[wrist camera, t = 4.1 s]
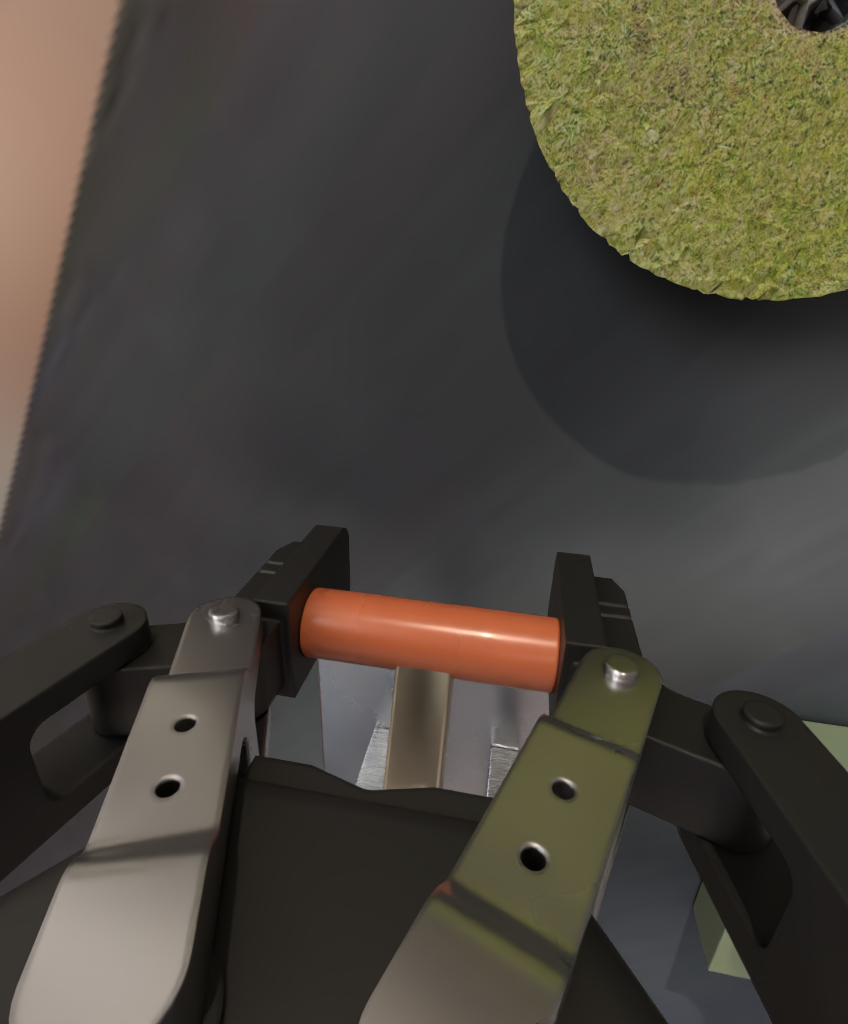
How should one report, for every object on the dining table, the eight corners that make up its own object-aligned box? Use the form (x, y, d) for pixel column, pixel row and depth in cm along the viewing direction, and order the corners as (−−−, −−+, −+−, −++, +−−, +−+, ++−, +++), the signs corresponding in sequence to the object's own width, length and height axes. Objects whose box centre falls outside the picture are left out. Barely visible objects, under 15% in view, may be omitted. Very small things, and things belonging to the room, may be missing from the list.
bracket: (329, 616, 19) (29, 1124, 8) (594, 652, 18) (699, 1331, 7) (339, 829, 24) (156, 1352, 12) (551, 871, 23) (569, 1503, 11)
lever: (333, 581, 13) (293, 593, 10) (554, 609, 12) (566, 629, 10) (271, 1156, 13) (216, 1301, 10) (492, 1221, 12) (487, 1395, 9)
